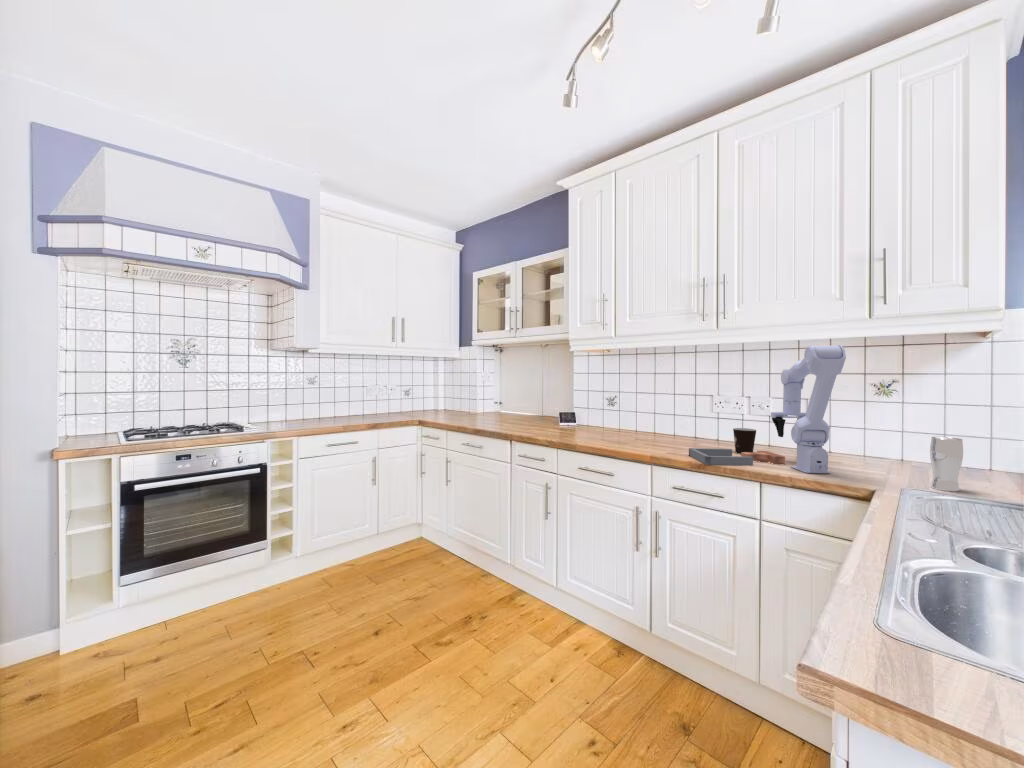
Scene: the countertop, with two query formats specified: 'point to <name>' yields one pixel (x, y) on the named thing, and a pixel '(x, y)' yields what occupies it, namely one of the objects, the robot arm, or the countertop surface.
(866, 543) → the countertop surface
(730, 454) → the dock
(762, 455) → the t block
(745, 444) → the coffee mug
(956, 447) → the beer glass
